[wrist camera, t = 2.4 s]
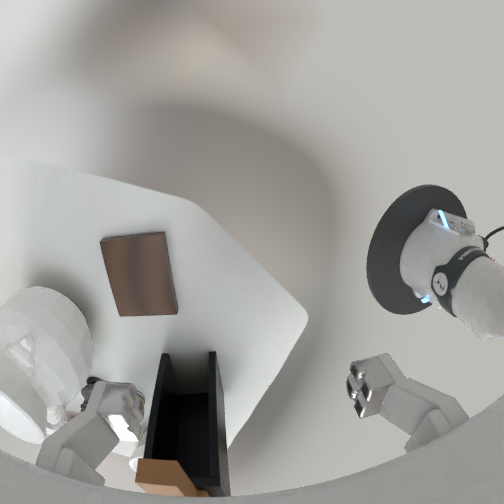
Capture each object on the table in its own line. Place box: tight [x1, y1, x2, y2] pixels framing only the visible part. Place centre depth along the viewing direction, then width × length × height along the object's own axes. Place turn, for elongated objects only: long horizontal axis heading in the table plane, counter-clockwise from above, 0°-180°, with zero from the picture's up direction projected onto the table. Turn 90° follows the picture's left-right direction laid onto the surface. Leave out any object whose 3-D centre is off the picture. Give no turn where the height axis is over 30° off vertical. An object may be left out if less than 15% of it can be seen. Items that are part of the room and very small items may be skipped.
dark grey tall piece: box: [81, 377, 102, 411], centre depth 43 cm, size 6×6×12 cm
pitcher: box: [0, 286, 93, 444], centre depth 30 cm, size 19×18×25 cm
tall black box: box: [143, 351, 231, 497], centre depth 37 cm, size 10×13×26 cm
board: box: [100, 232, 178, 316], centre depth 40 cm, size 10×13×2 cm
